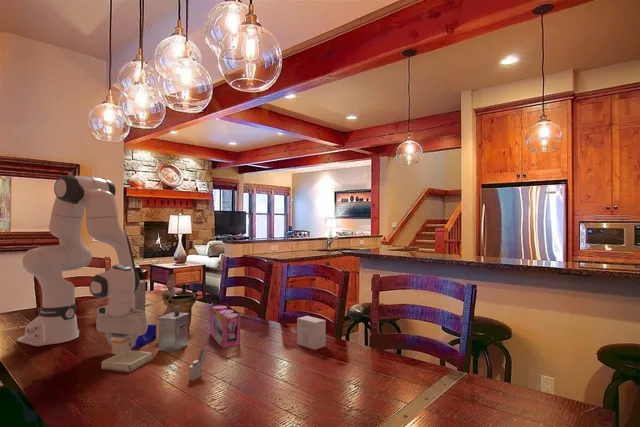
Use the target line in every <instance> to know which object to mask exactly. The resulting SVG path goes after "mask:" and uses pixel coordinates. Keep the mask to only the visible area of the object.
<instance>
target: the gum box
mask: <svg viewBox="0 0 640 427" xmlns="http://www.w3.org/2000/svg"><path fill="white" fill-rule="evenodd" d="M209 334H210V336H211V337H212V339H214V341H216V343H217V344H219V346H220V347H221V348H222V349H227V348H232V347H233V348H234V347H238V346H241V313H240V312H239V311H238V310H235V309H234V308H233V307H232V306H230V305H228V304H227V303H220V304H218V303H217V304H211V305H210V306H209Z"/></svg>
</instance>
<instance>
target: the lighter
mask: <svg viewBox="0 0 640 427" xmlns="http://www.w3.org/2000/svg"><path fill="white" fill-rule="evenodd" d="M207 353H208V349H207V348H201V349H200V350H199V354H198V358H197V359H196V360H194V361H193V362H192V365H190V366H189V368H188V370H189V372H188V374H189V376H188V377H189V378H188V380H189V381H190V382H191V381H193V382H194V381H196V380H197V379H199V378H200V377H202V366H203V365H202V364H204V363H205V361H206V357H207Z"/></svg>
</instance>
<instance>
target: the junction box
mask: <svg viewBox="0 0 640 427" xmlns="http://www.w3.org/2000/svg"><path fill="white" fill-rule="evenodd" d="M188 315H189V313H180V306H175V312H171V313H167V314H164V315H162V316H158V317H157V320H158V351H160V352H166V353H167V352H168V353H169V352H170V353H177V352H179V351H180V350H181V349H183V348H185V347H187V346H188V336H189V335H188V334H189V333H188V331H189V330H188Z"/></svg>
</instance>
